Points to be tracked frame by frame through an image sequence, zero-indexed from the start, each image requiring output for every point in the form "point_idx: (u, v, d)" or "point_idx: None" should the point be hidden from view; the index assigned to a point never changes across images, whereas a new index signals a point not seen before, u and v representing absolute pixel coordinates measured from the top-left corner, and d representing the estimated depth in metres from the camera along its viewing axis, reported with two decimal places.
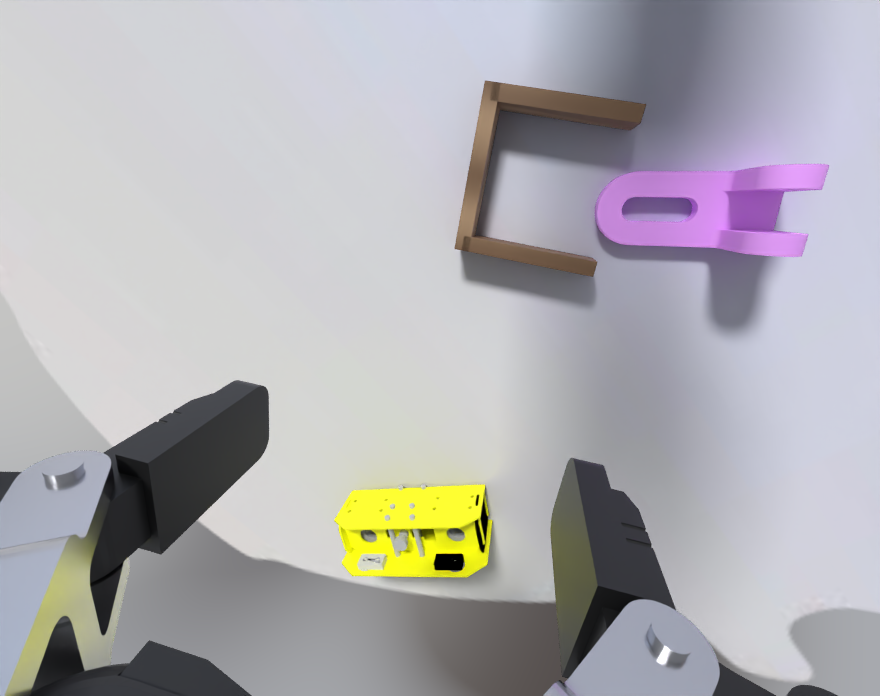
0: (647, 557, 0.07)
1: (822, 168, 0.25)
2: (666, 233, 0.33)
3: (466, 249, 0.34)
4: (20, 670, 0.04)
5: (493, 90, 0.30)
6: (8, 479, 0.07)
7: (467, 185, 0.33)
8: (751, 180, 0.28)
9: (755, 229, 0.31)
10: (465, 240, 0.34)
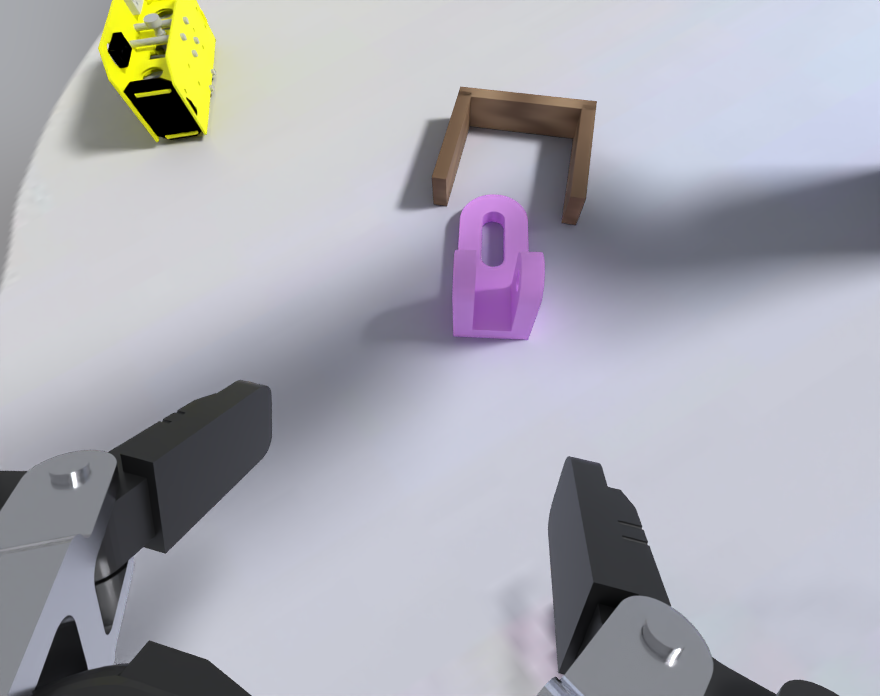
0: (643, 554, 0.07)
1: (540, 277, 0.25)
2: (470, 246, 0.33)
3: (459, 93, 0.38)
4: (24, 669, 0.04)
5: (589, 106, 0.36)
6: (14, 479, 0.07)
7: (514, 93, 0.37)
8: None
9: (474, 313, 0.30)
10: (467, 93, 0.38)
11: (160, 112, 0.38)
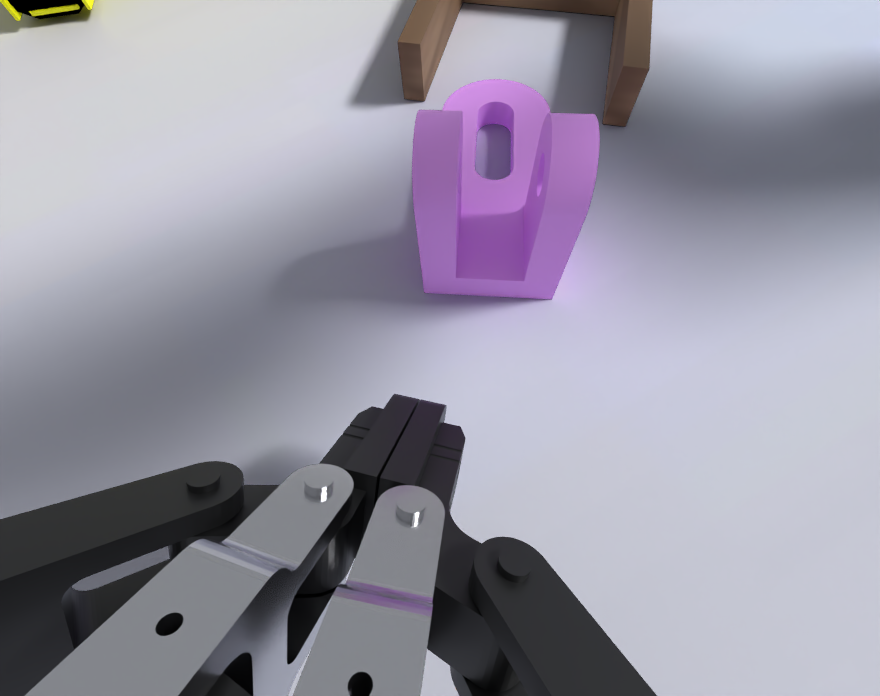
0: (449, 468, 0.09)
1: (591, 152, 0.12)
2: None
3: None
4: None
5: None
6: (254, 493, 0.08)
7: None
8: None
9: (459, 250, 0.17)
10: None
11: None
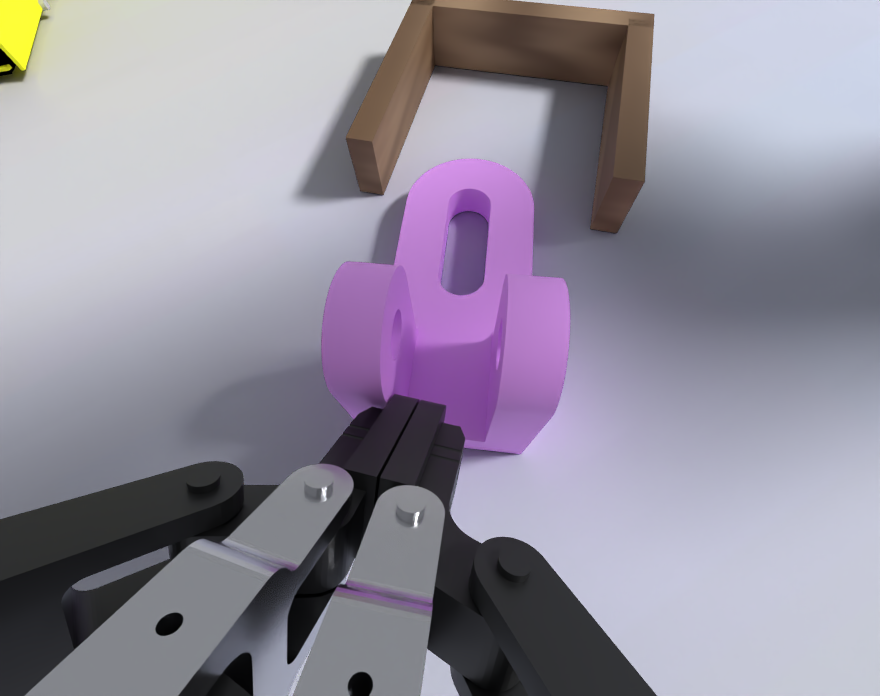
0: (449, 468, 0.09)
1: (558, 352, 0.09)
2: (420, 251, 0.17)
3: (414, 2, 0.22)
4: None
5: (642, 21, 0.20)
6: (255, 492, 0.08)
7: (509, 1, 0.21)
8: None
9: (409, 395, 0.14)
10: (428, 0, 0.22)
11: None
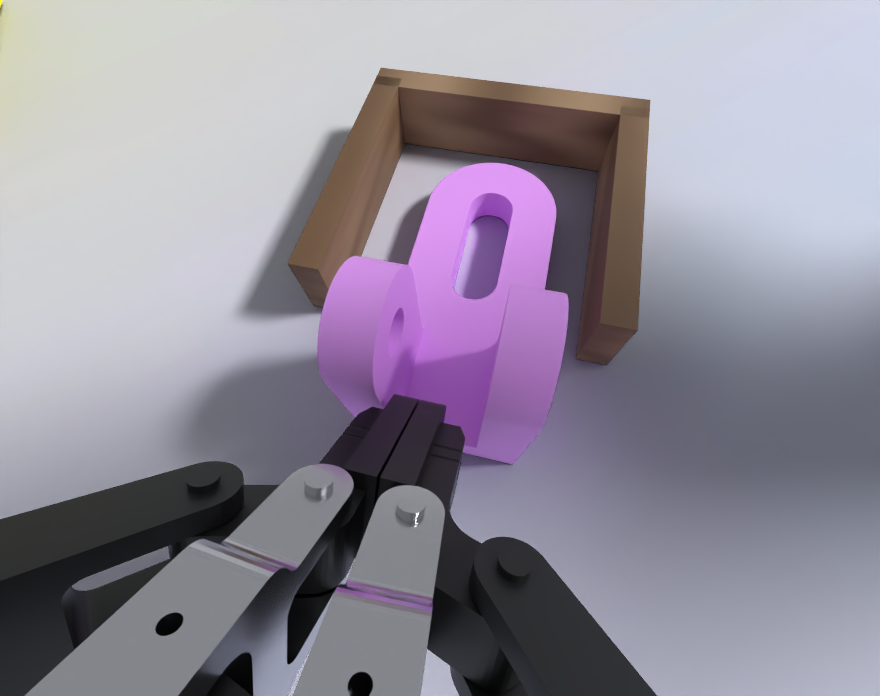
0: (449, 468, 0.09)
1: (550, 367, 0.09)
2: (436, 251, 0.17)
3: (377, 81, 0.19)
4: None
5: (636, 109, 0.18)
6: (254, 492, 0.08)
7: (485, 81, 0.19)
8: None
9: (407, 393, 0.14)
10: (393, 80, 0.19)
11: None
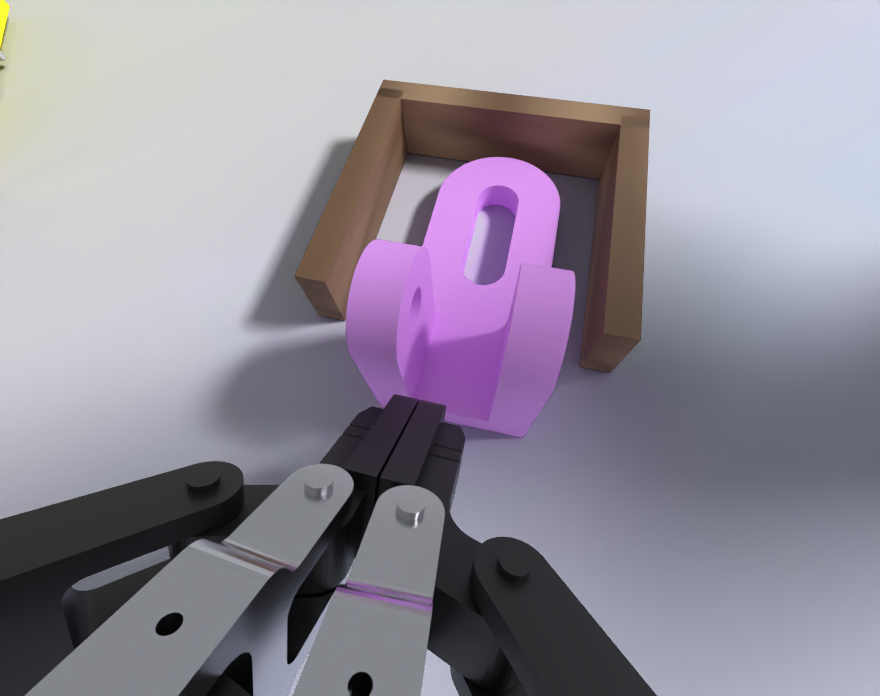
0: (449, 468, 0.09)
1: (559, 335, 0.10)
2: (447, 240, 0.18)
3: (380, 93, 0.19)
4: None
5: (636, 119, 0.18)
6: (254, 493, 0.08)
7: (486, 93, 0.19)
8: None
9: (422, 371, 0.15)
10: (395, 92, 0.19)
11: None
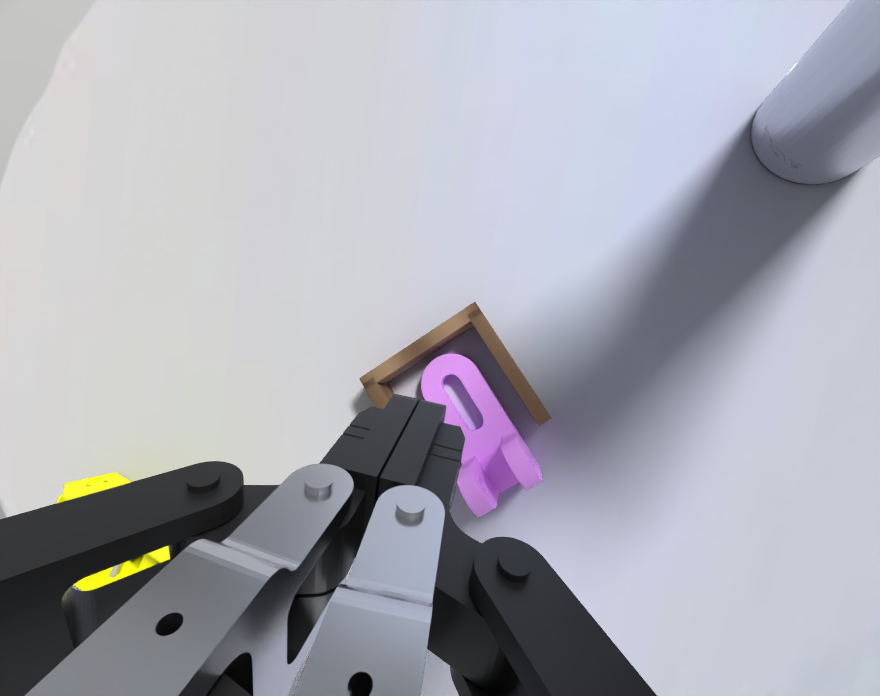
0: (449, 468, 0.09)
1: (533, 474, 0.30)
2: (450, 420, 0.37)
3: (365, 387, 0.37)
4: None
5: (474, 312, 0.35)
6: (254, 492, 0.08)
7: (406, 348, 0.36)
8: (507, 441, 0.32)
9: (491, 480, 0.35)
10: (371, 380, 0.36)
11: None
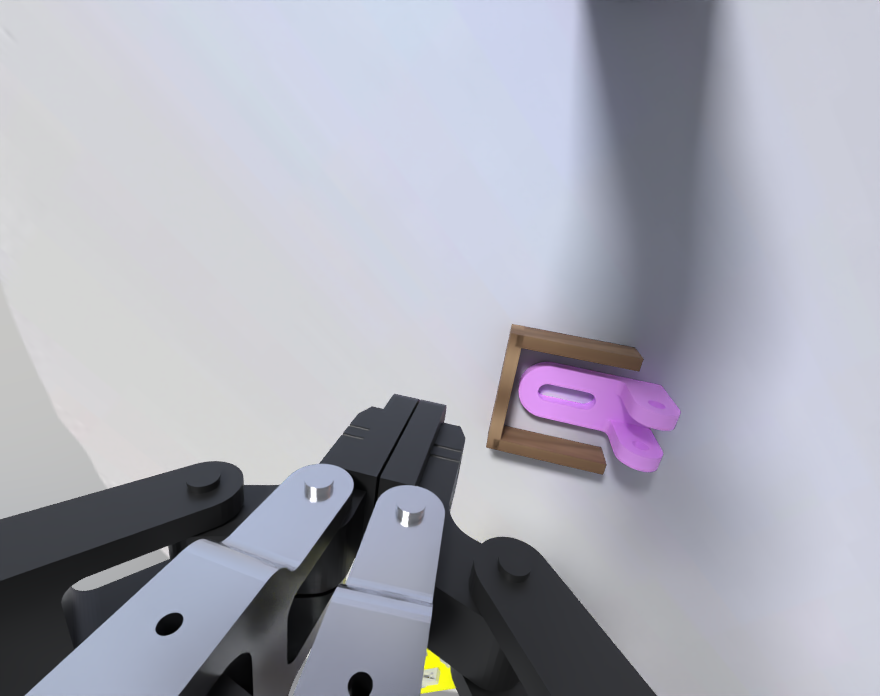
0: (449, 468, 0.09)
1: (672, 418, 0.33)
2: (570, 414, 0.40)
3: (496, 448, 0.41)
4: None
5: (518, 340, 0.37)
6: (255, 492, 0.08)
7: (496, 403, 0.40)
8: (629, 404, 0.36)
9: (636, 425, 0.39)
10: (495, 442, 0.41)
11: None
